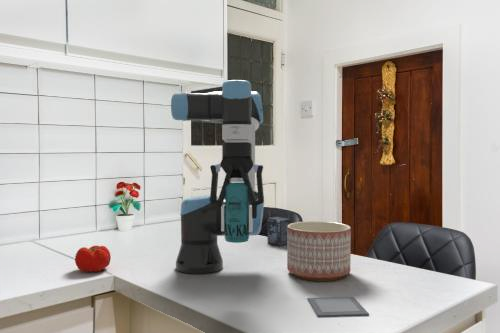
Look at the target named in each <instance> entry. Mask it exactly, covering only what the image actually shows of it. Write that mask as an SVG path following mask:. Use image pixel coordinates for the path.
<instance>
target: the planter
mask: <svg viewBox="0 0 500 333" xmlns="http://www.w3.org/2000/svg"><path fill="white" fill-rule="evenodd" d="M351 236H352V230H351V226H350V225H348V224H346V223H345V224H344V223H340V222H335V221H322V220H320V221H319V220H318V221H317V220H316V221H315V220H313V221H309V220H308V221H307V220H306V221H298V222H297V221H296V222H292V223H291V222H290V224H289V225H288V226H287V245H286V246H287V247H286V248H287V249H286V250H287V252H286V253H287V254H286V256H287V257H286V263H287V264H286V267H287V270H288V272H289V273H291V274H293V275H294V276H295V277H297V278H298V279H299V278H300V279H302V280H307V281H314V282H315V281H316V282H327V281H329V282H331V281H336V280H339V279H342V278H343V277H345V276H346V275H348V274H350V272H351V256H352V254H351V252H352V251H351V246H352V245H351V244H352V243H351V242H352V241H351V240H352V239H351V238H352V237H351Z"/></svg>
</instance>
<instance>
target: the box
mask: <svg viewBox="0 0 500 333" xmlns="http://www.w3.org/2000/svg"><path fill="white" fill-rule="evenodd" d="M289 224H291V219H290V218H285V217H280V216H273V217H267V244H268V245H269V244H270V245H274V246H278V247H285V246H287V226H288V225H289Z"/></svg>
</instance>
